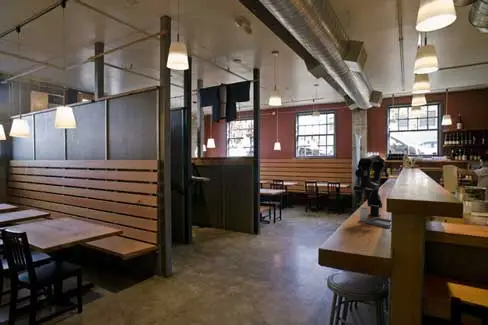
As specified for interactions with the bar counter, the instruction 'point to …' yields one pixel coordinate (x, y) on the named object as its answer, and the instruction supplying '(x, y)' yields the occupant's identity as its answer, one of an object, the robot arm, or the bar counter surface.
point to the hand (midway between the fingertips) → (364, 200)
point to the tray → (379, 222)
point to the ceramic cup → (363, 214)
